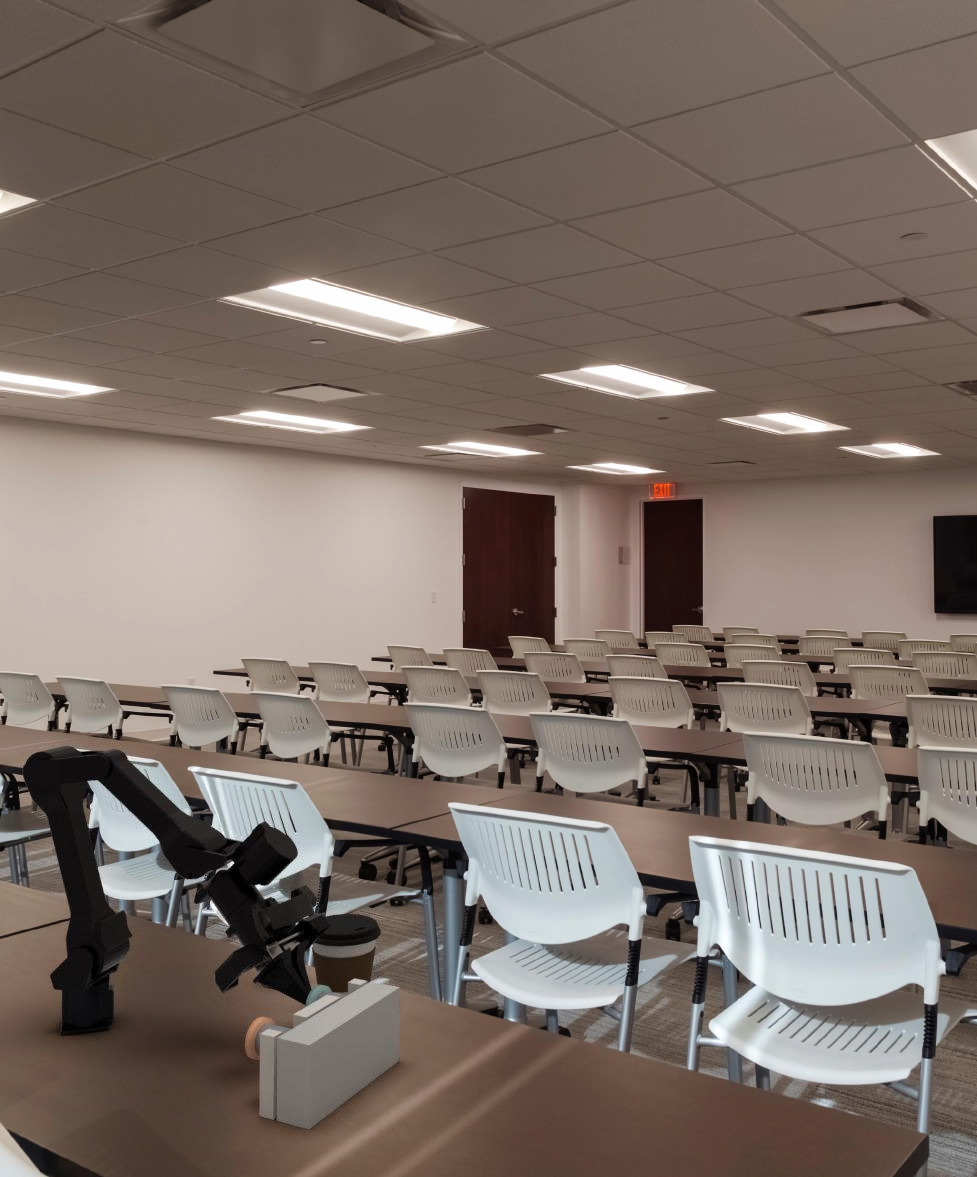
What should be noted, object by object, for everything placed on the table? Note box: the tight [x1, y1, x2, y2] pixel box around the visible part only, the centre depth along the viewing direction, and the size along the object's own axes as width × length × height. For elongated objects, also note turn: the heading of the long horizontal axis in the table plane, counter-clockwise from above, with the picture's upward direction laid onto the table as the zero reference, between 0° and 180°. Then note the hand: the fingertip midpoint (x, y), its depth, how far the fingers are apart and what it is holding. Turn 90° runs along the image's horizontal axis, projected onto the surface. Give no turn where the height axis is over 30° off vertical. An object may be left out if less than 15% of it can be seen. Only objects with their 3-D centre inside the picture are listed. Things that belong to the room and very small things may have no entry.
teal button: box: [304, 984, 348, 1008], centre depth 139 cm, size 5×5×5 cm
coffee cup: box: [311, 913, 382, 995], centre depth 158 cm, size 11×11×12 cm
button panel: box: [259, 979, 401, 1130], centre depth 132 cm, size 7×20×10 cm, turn 154°
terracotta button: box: [244, 1016, 292, 1061], centre depth 128 cm, size 5×5×5 cm
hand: (311, 1003), depth 140 cm, fingers closed
